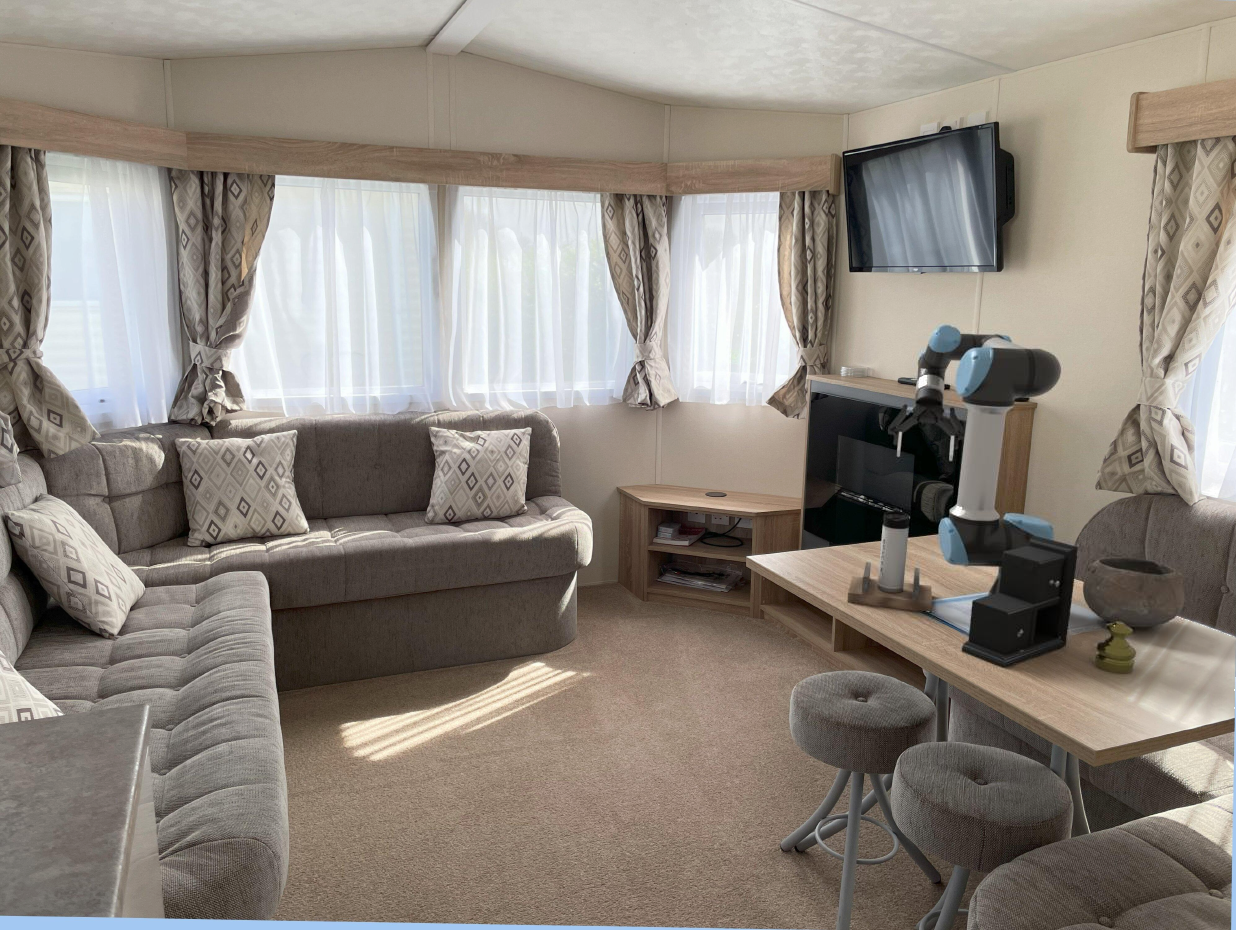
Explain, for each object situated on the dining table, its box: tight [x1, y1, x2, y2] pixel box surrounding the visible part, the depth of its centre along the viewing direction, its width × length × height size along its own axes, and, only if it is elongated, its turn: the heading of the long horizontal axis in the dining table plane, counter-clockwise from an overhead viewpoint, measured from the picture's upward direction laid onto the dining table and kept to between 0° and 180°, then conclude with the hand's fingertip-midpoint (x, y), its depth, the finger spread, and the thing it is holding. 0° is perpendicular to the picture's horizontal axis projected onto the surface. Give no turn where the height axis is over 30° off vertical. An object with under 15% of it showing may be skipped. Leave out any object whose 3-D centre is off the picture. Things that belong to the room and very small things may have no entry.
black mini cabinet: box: [961, 536, 1079, 669], centre depth 198 cm, size 23×11×24 cm, turn 123°
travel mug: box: [877, 509, 910, 593], centre depth 229 cm, size 6×7×20 cm
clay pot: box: [1082, 556, 1186, 628], centre depth 217 cm, size 21×21×15 cm
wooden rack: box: [847, 561, 933, 612], centre depth 231 cm, size 20×14×7 cm
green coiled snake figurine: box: [1094, 621, 1137, 675], centre depth 191 cm, size 7×7×10 cm
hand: (924, 456), depth 245 cm, fingers open, 13 cm apart
